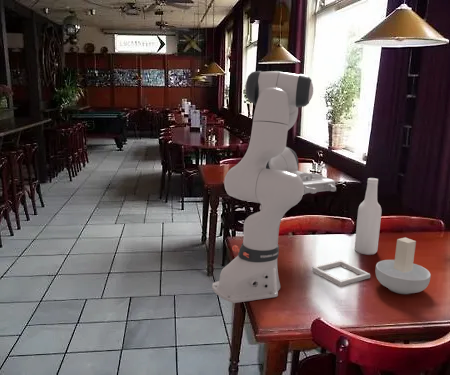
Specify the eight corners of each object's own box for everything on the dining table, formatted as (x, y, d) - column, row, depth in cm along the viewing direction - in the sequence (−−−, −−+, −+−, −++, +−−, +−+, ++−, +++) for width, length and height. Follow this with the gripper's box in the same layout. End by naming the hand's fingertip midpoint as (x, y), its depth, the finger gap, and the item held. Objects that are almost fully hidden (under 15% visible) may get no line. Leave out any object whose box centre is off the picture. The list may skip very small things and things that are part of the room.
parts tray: (340, 286, 144) (341, 281, 144) (312, 270, 156) (312, 266, 156) (369, 277, 151) (370, 273, 151) (340, 263, 163) (340, 260, 163)
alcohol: (349, 250, 177) (356, 177, 171) (363, 245, 183) (370, 175, 176) (368, 256, 171) (376, 181, 164) (381, 252, 176) (389, 179, 169)
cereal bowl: (425, 306, 132) (428, 284, 131) (369, 292, 140) (371, 272, 138) (430, 285, 147) (432, 265, 145) (378, 274, 155) (380, 255, 153)
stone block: (404, 272, 139) (407, 243, 137) (393, 268, 142) (397, 239, 140) (412, 270, 141) (416, 241, 139) (401, 266, 144) (405, 237, 142)
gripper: (280, 177, 166) (303, 184, 154) (320, 173, 176) (345, 179, 164) (279, 193, 167) (302, 201, 155) (319, 188, 177) (344, 196, 165)
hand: (325, 190), depth 160 cm, fingers open, 8 cm apart
